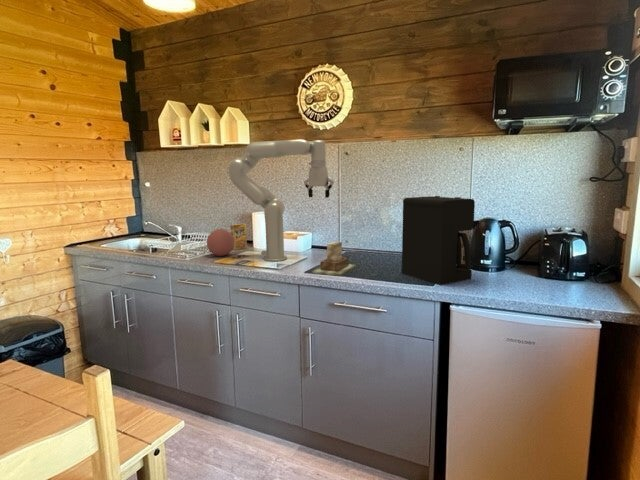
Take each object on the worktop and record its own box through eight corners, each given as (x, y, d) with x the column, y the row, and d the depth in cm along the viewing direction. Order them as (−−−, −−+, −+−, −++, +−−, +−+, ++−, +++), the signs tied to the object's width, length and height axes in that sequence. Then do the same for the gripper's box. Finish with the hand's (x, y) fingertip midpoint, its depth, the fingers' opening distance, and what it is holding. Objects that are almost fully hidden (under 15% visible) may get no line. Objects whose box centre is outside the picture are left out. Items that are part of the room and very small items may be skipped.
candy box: (234, 249, 254) (232, 225, 252) (231, 248, 258) (230, 224, 255) (247, 248, 259) (246, 223, 257) (244, 247, 263) (243, 223, 260)
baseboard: (164, 254, 247) (184, 253, 248) (163, 249, 246) (184, 248, 248) (175, 245, 277) (193, 244, 278) (174, 240, 276) (193, 240, 278)
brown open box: (312, 273, 194) (312, 262, 193) (330, 264, 211) (330, 254, 211) (339, 276, 188) (339, 265, 187) (356, 266, 205) (356, 256, 204)
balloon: (243, 252, 246) (242, 226, 243) (226, 259, 227) (224, 231, 225) (221, 251, 251) (219, 226, 248) (202, 257, 232) (200, 230, 230)
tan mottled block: (327, 269, 197) (327, 244, 195) (334, 265, 204) (334, 241, 202) (335, 269, 195) (334, 244, 193) (341, 266, 202) (341, 242, 200)
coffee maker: (480, 280, 176) (484, 198, 171) (447, 287, 167) (450, 200, 161) (432, 268, 201) (434, 195, 195) (401, 273, 191) (402, 197, 185)
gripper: (300, 164, 217) (301, 197, 220) (330, 164, 210) (330, 198, 212) (307, 164, 224) (307, 196, 227) (336, 164, 216) (336, 197, 219)
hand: (318, 197), depth 220 cm, fingers open, 9 cm apart
